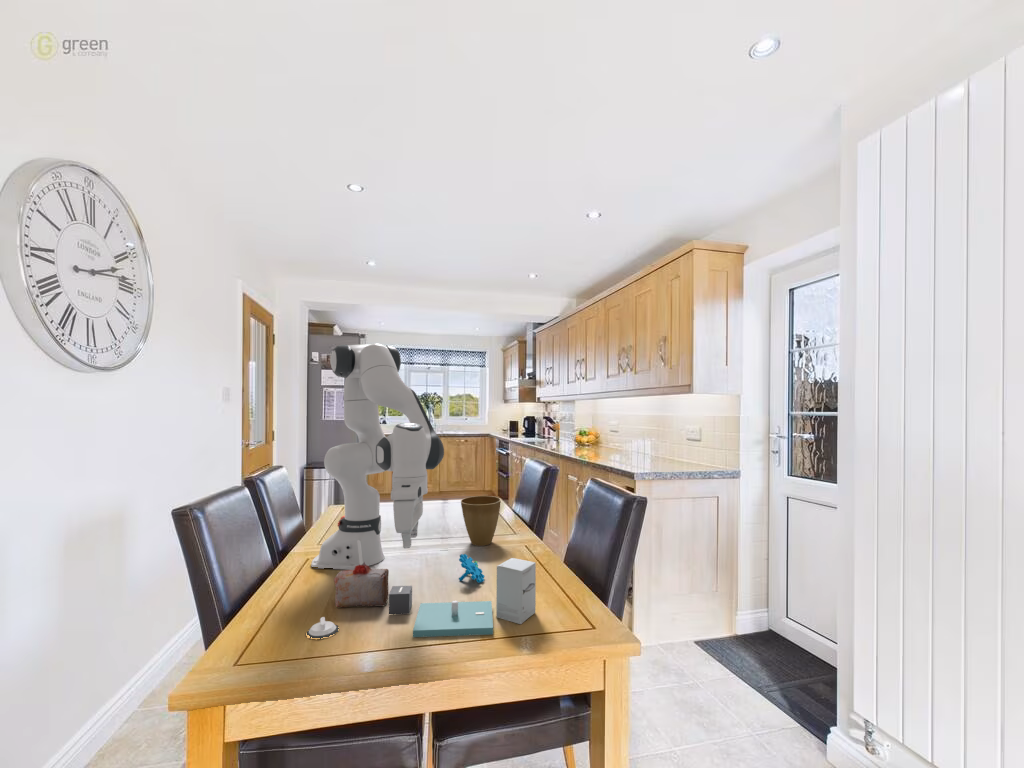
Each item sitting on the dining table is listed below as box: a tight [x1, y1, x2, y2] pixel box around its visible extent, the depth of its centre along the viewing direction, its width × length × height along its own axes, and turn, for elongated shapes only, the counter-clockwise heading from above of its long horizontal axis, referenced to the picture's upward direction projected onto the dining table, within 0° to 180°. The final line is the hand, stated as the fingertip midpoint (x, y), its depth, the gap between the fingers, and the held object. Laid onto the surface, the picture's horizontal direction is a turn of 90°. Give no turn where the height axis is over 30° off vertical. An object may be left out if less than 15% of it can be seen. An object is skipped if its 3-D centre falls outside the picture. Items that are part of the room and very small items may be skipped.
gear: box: [458, 553, 485, 584], centre depth 137 cm, size 11×6×10 cm
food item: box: [333, 562, 389, 608], centre depth 122 cm, size 14×8×10 cm, turn 94°
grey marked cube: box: [388, 585, 413, 616], centre depth 118 cm, size 5×5×5 cm
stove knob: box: [306, 616, 340, 639], centre depth 107 cm, size 7×7×3 cm
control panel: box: [412, 600, 494, 638], centre depth 112 cm, size 18×14×4 cm
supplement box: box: [495, 557, 537, 625], centre depth 115 cm, size 7×7×13 cm
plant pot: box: [460, 495, 502, 547], centre depth 173 cm, size 15×15×16 cm
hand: (410, 542), depth 118 cm, fingers open, 8 cm apart
